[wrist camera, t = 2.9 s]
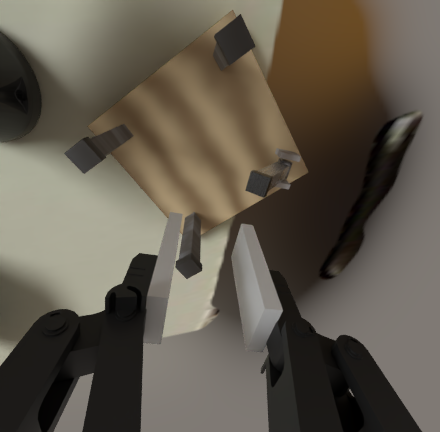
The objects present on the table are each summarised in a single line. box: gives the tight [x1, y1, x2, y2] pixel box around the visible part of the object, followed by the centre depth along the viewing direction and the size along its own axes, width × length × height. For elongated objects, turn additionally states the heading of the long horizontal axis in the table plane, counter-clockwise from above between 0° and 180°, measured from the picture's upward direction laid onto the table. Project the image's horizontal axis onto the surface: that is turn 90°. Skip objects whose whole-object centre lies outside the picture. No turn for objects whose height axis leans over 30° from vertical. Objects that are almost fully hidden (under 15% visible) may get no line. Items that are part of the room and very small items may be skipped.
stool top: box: [64, 10, 308, 279], centre depth 31 cm, size 24×24×16 cm
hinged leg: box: [245, 158, 293, 198], centre depth 32 cm, size 13×3×2 cm
